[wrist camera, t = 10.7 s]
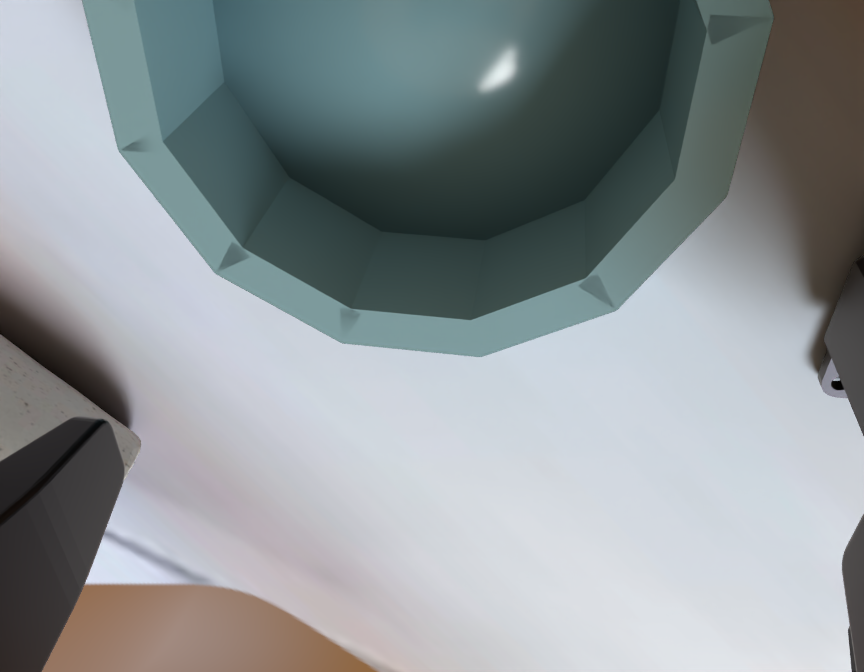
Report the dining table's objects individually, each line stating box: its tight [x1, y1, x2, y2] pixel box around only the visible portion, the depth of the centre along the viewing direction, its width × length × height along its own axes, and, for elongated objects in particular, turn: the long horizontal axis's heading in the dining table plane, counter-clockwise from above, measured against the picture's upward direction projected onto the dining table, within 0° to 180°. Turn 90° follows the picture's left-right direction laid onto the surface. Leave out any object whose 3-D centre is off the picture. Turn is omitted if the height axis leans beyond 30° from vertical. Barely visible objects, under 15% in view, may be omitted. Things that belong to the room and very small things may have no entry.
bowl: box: [82, 0, 774, 357], centre depth 16 cm, size 12×12×4 cm
